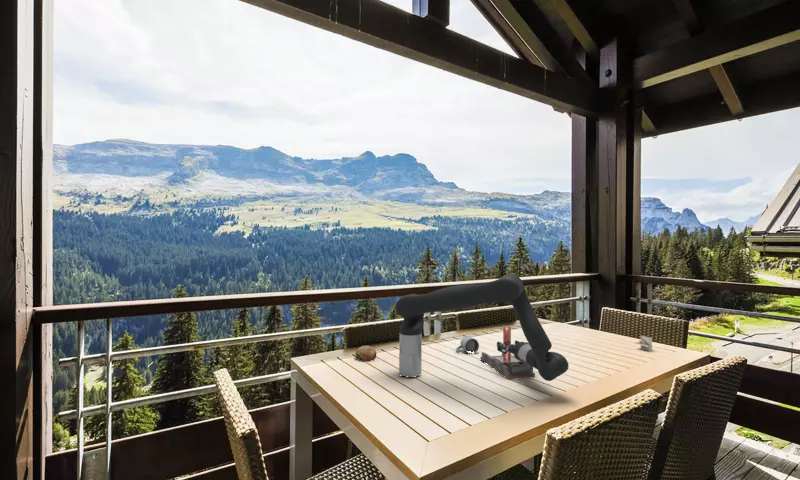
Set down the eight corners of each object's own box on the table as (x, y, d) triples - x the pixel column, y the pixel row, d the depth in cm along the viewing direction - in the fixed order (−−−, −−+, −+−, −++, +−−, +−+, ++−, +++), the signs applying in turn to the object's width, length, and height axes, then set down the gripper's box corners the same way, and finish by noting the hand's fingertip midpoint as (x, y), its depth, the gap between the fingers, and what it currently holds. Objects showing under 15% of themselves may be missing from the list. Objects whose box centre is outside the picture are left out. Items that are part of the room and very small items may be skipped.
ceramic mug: (473, 349, 201) (472, 334, 201) (479, 353, 193) (479, 338, 193) (453, 350, 199) (453, 335, 199) (459, 355, 191) (459, 339, 191)
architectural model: (648, 353, 195) (648, 338, 195) (634, 350, 202) (634, 335, 202) (652, 352, 197) (652, 337, 197) (638, 349, 203) (638, 334, 203)
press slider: (520, 367, 167) (520, 329, 167) (502, 368, 165) (502, 330, 165) (511, 361, 175) (511, 325, 175) (493, 363, 173) (493, 326, 173)
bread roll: (353, 366, 185) (349, 353, 182) (364, 352, 193) (360, 339, 190) (371, 369, 180) (367, 356, 177) (381, 355, 188) (377, 341, 185)
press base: (534, 377, 160) (534, 364, 160) (508, 379, 157) (508, 366, 157) (503, 358, 185) (503, 347, 185) (480, 360, 182) (480, 349, 182)
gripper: (543, 343, 156) (521, 333, 172) (511, 345, 153) (491, 335, 169) (543, 361, 156) (521, 350, 172) (511, 364, 153) (491, 353, 169)
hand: (506, 343), depth 171 cm, fingers open, 8 cm apart
